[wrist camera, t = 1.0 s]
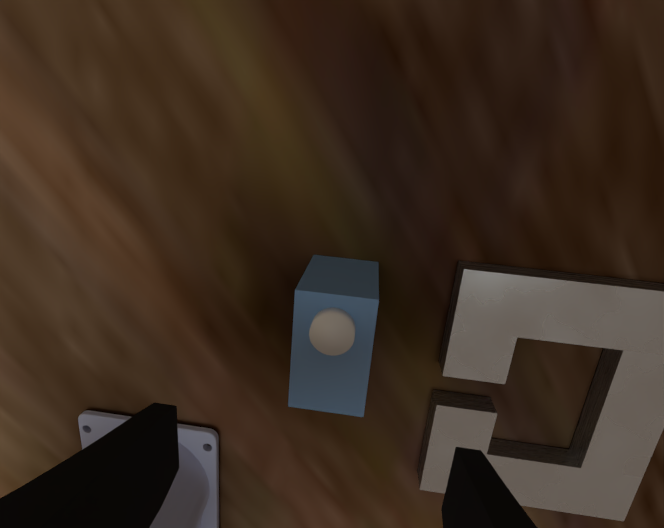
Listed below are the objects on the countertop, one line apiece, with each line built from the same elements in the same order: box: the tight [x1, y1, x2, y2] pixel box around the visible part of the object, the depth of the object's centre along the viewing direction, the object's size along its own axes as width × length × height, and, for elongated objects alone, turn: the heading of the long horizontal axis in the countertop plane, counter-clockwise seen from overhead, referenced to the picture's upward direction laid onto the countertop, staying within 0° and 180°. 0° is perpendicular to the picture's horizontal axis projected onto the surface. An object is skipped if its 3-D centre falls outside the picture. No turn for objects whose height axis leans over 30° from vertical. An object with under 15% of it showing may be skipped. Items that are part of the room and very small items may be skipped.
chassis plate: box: [417, 261, 664, 521], centre depth 19 cm, size 12×10×1 cm
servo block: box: [288, 255, 379, 417], centre depth 17 cm, size 5×3×5 cm, turn 175°
